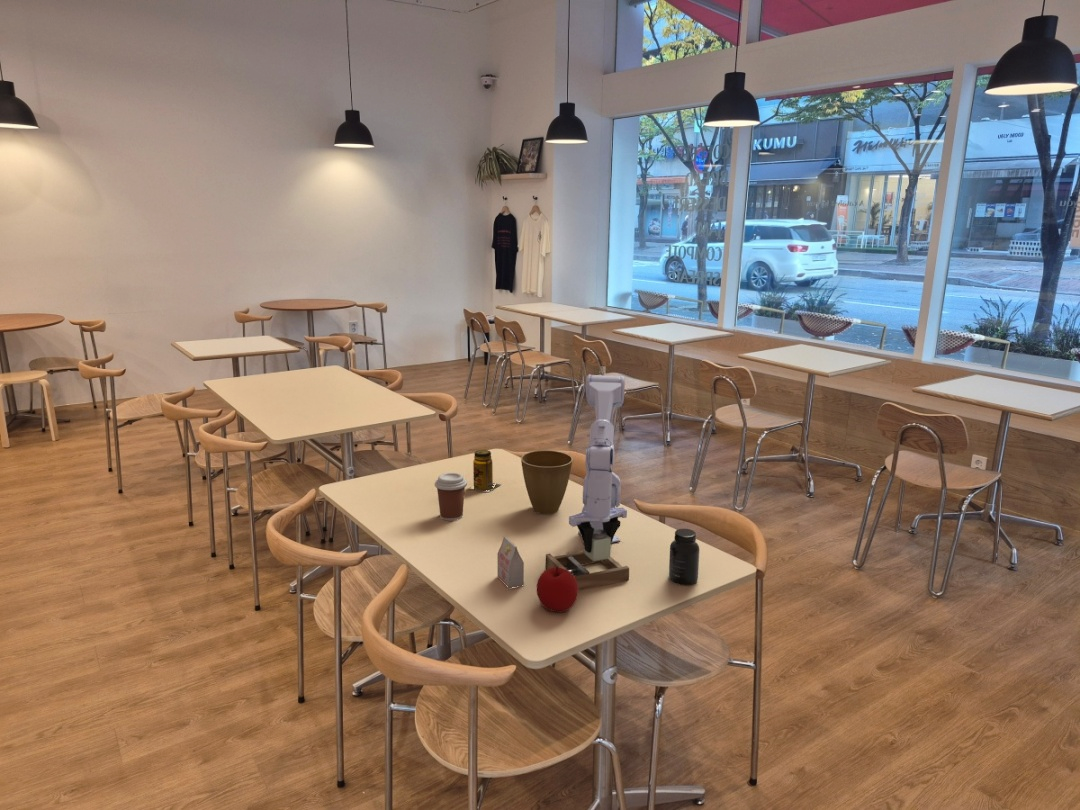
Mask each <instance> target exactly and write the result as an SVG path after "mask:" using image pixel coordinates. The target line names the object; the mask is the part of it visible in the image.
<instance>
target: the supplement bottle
mask: <svg viewBox="0 0 1080 810" xmlns="http://www.w3.org/2000/svg"><path fill="white" fill-rule="evenodd" d="M696 535H697V534H696V531H695V530H693V529H690V528H677V529H676V530H675V532H674V538H673V539H674V540H672V542H671V543H670V545H669V559H668V560H669V562H668V563H669V565H668V578H669V579H670V581H671V582H673V583H674V584H677V585H679V584H680V586H691V585H694V584H695V583H697V582H698V579H699V569H700V567H699V566H700V565H699V564H700V545H699V544H698V543H697V542H696V541H697V537H696Z"/></svg>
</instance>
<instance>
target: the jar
mask: <svg viewBox="0 0 1080 810" xmlns="http://www.w3.org/2000/svg"><path fill="white" fill-rule="evenodd" d="M611 546H612V543H611V538H610V537H609V536H608V535H607V534H606V531H604V530H601V529H594V532H593V537H592V549H591V552H590V553H588V552H587V551H586V550H585V549H584V551H585V555H587V556H588V557H589V558H590V559H591V560H592V561H598V560H603V559H608V558H610V557H611Z"/></svg>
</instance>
